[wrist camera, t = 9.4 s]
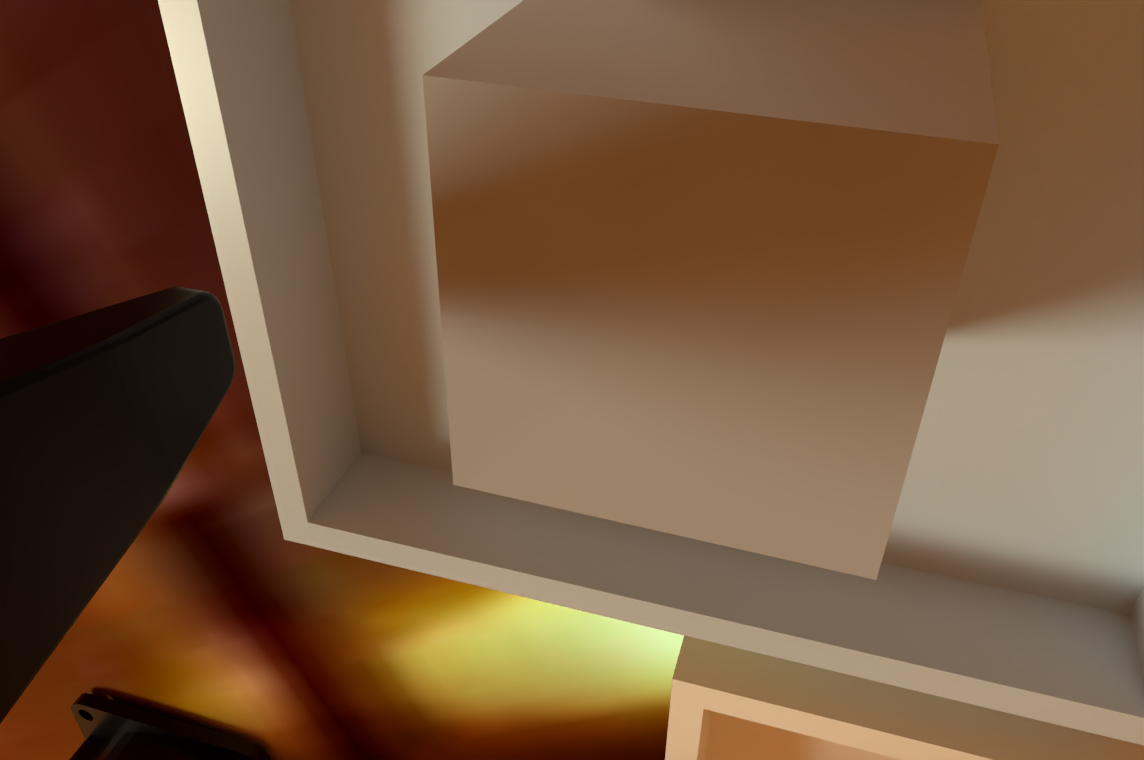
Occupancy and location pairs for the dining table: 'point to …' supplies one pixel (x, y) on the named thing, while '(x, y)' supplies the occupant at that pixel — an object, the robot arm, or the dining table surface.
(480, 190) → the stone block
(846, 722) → the bin
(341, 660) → the dining table surface
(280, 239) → the bin
